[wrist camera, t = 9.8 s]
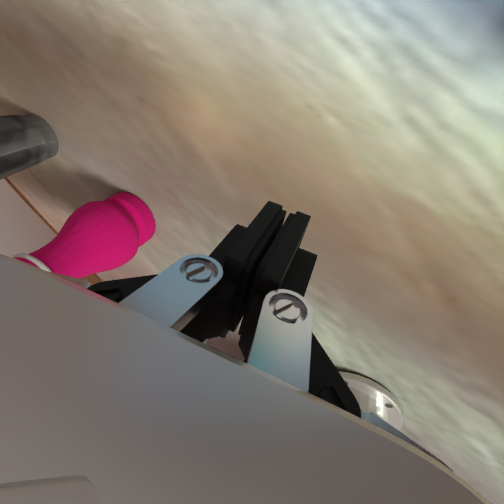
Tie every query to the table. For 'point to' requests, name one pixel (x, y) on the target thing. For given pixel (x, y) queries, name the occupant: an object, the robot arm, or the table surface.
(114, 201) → the pepper mill
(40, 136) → the beverage cup
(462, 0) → the table surface
